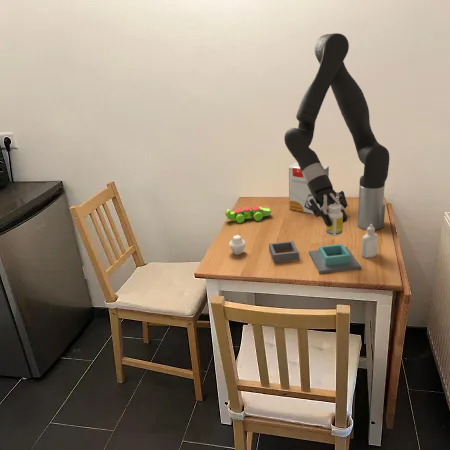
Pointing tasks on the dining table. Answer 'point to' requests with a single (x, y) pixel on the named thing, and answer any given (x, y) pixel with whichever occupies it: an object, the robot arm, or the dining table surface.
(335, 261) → the port
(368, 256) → the eye dropper bottle
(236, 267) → the dining table surface
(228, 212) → the toy crocodile
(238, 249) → the white ribbed rounded piece
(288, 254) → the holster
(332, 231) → the supplement bottle
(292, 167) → the hard drive box
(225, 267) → the dining table surface
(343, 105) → the robot arm
